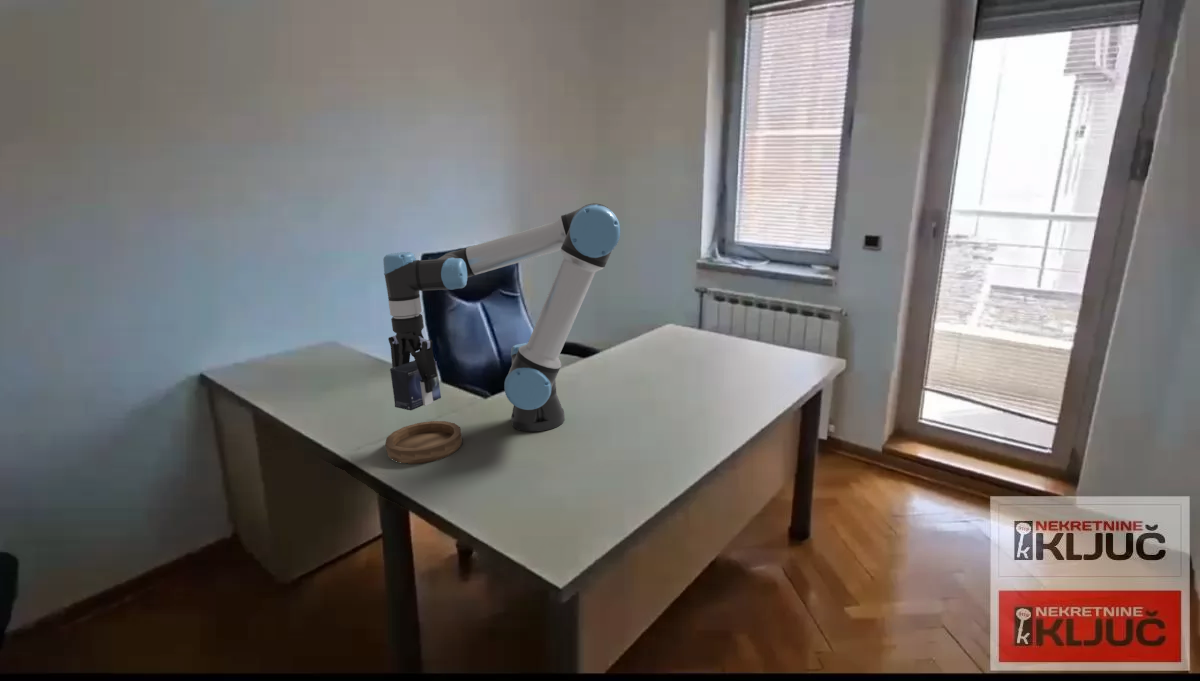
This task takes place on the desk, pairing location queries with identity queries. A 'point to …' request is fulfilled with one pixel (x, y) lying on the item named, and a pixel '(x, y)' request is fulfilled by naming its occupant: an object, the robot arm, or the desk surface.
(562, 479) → the desk surface
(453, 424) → the tray
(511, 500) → the desk surface
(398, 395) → the small box
